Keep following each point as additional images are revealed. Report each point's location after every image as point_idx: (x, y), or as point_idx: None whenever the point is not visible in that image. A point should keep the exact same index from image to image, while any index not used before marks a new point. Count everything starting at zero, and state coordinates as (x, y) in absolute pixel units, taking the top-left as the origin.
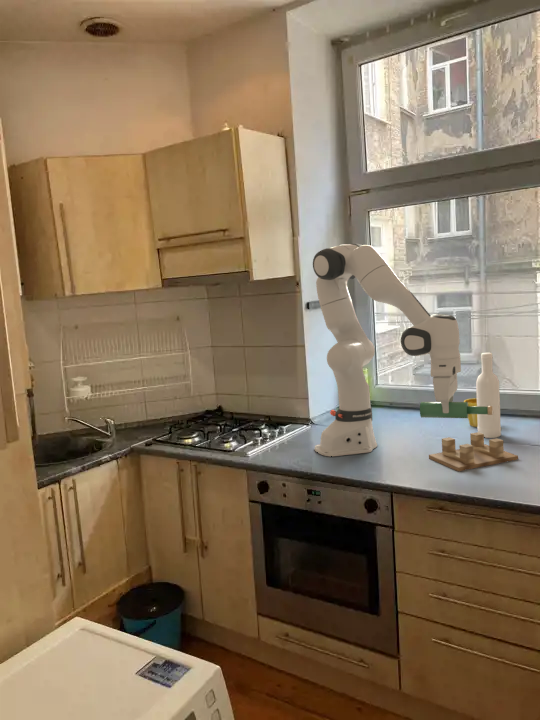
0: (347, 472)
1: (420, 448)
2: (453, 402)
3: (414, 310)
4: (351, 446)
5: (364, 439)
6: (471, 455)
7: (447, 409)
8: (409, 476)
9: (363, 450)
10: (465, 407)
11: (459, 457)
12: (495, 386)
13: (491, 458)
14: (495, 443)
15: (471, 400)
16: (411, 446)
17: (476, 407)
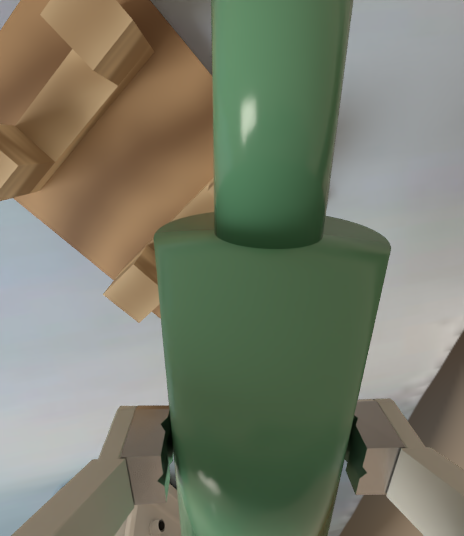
0: (343, 472)
1: (66, 368)
2: (294, 457)
3: None
4: (171, 527)
5: (140, 527)
6: None
7: (408, 434)
8: (372, 339)
9: (170, 493)
10: (386, 262)
11: None
12: None
13: (166, 74)
14: (134, 23)
15: None
16: (53, 396)
17: (330, 80)
